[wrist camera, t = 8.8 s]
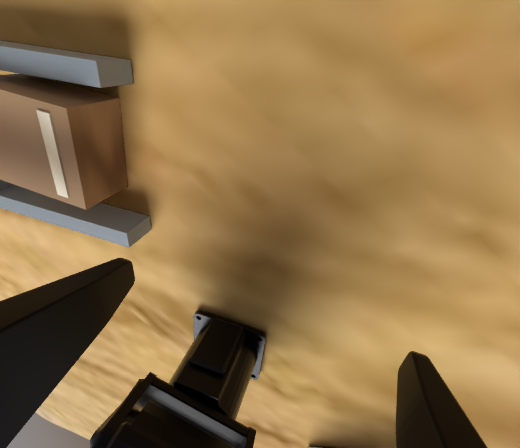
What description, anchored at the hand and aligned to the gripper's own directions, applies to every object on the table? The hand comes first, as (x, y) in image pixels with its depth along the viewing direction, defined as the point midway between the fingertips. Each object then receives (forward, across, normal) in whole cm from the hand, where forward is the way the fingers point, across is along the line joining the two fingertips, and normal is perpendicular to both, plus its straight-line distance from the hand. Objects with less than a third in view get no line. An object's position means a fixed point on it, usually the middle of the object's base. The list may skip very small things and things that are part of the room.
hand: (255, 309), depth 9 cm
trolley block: (+10, +16, 0) cm, 19 cm away
